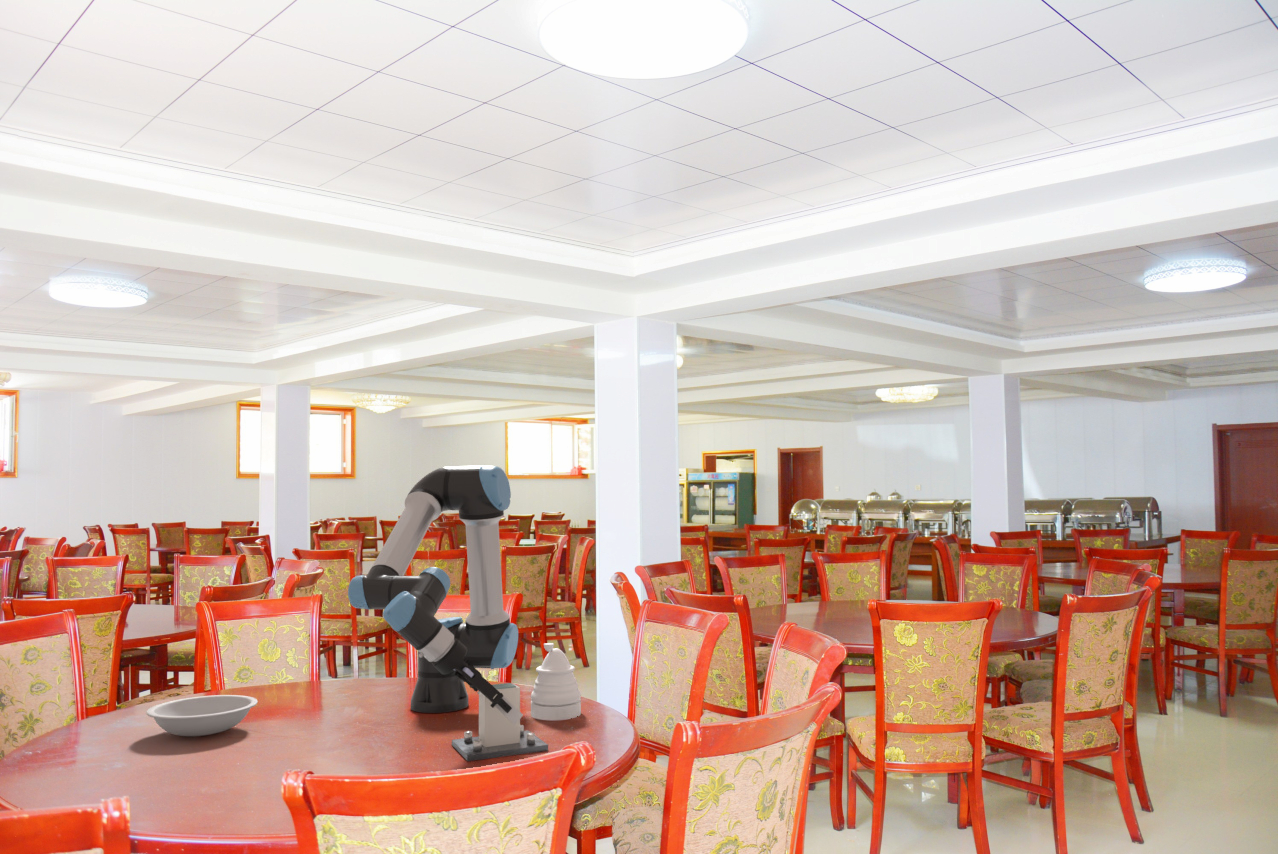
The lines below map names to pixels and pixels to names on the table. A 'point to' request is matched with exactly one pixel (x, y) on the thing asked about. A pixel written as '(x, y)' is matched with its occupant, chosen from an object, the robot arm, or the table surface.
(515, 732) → the block
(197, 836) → the table surface
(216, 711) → the soup bowl
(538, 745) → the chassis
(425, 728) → the table surface
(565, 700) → the honey pot
